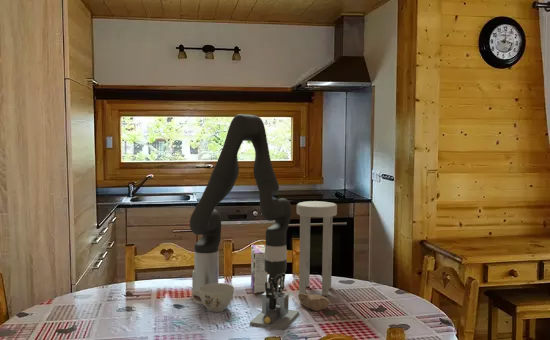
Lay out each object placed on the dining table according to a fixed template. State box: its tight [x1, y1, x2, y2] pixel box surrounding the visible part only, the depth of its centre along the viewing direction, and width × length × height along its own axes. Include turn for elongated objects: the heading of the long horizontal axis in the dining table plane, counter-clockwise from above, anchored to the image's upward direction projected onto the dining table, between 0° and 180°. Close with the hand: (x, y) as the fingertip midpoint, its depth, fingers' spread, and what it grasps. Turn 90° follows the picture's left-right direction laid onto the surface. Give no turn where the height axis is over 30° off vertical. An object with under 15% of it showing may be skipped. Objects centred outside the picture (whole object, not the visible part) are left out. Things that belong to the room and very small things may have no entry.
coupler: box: [249, 305, 300, 331], centre depth 183 cm, size 12×16×4 cm
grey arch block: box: [261, 292, 290, 316], centre depth 183 cm, size 8×4×6 cm, turn 70°
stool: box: [296, 200, 338, 297], centre depth 214 cm, size 16×16×35 cm
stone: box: [297, 292, 331, 312], centre depth 197 cm, size 9×11×5 cm
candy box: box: [250, 244, 268, 294], centre depth 217 cm, size 14×6×16 cm, turn 6°
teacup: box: [191, 282, 235, 313], centre depth 192 cm, size 15×12×8 cm
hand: (275, 306), depth 183 cm, fingers closed on grey arch block, 4 cm apart
